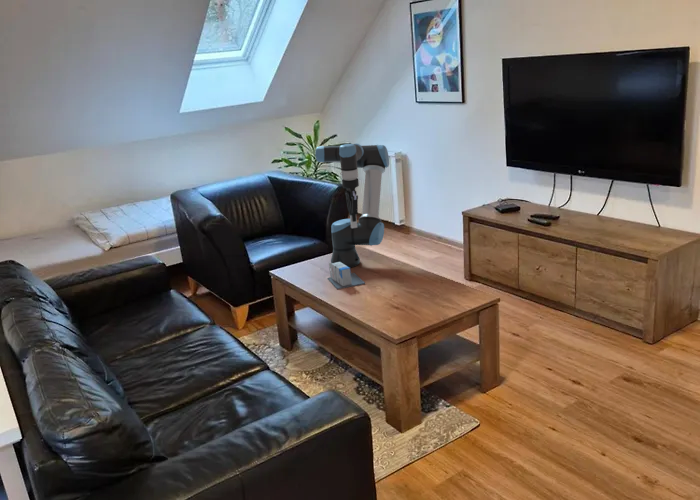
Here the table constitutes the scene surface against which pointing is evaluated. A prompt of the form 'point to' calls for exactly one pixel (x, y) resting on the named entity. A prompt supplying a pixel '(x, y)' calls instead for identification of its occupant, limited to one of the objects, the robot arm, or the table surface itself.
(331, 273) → the ink box
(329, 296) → the table surface
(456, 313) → the table surface
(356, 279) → the mat
